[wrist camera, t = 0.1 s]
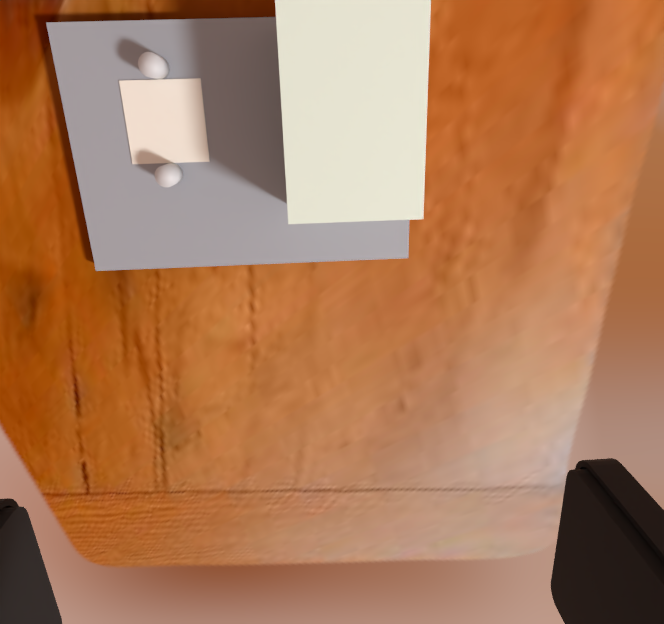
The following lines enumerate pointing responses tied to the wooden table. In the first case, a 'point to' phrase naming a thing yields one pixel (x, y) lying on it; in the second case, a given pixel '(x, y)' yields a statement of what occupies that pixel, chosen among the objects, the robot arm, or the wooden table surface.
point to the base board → (190, 148)
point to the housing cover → (354, 108)
